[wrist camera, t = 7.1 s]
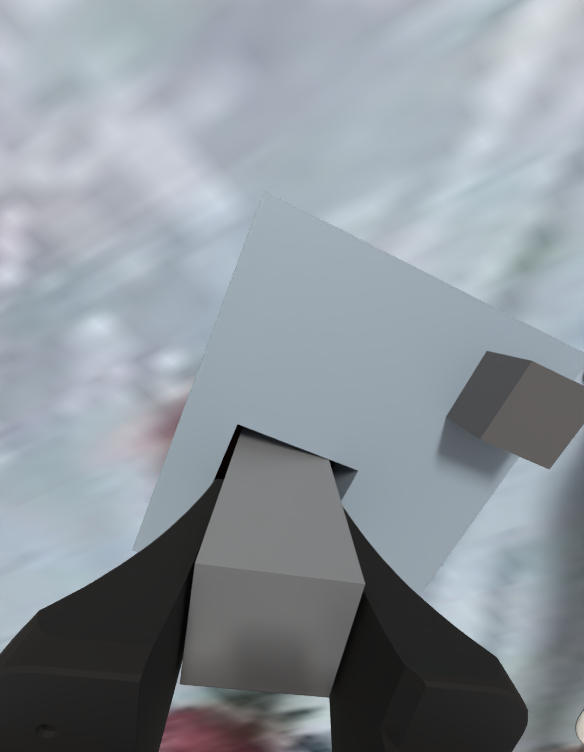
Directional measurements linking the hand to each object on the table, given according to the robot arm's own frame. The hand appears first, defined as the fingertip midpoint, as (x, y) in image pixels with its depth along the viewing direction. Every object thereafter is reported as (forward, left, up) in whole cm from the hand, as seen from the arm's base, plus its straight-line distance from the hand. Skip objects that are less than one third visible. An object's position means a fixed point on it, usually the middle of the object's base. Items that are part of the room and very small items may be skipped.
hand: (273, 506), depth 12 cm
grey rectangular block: (0, 0, -2) cm, 2 cm away
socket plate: (-2, -3, -3) cm, 5 cm away
